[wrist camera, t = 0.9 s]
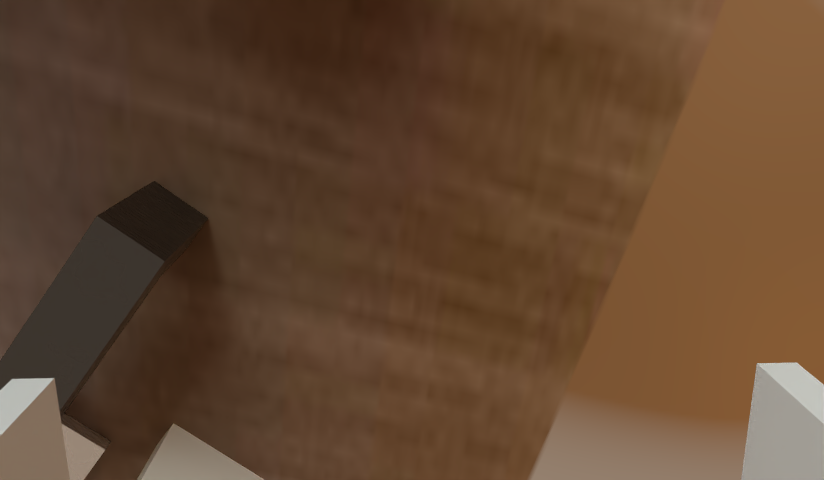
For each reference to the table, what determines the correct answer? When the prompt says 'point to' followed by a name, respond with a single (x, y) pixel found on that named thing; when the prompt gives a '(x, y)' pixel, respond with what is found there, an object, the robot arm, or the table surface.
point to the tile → (191, 460)
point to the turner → (99, 303)
